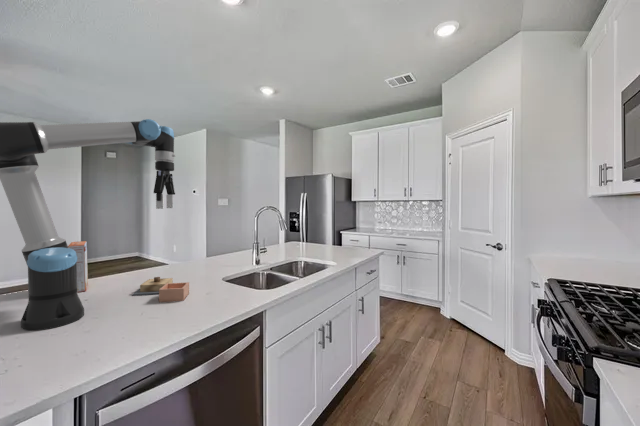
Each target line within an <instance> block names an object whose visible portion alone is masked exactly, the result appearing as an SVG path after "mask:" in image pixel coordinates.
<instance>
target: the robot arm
mask: <svg viewBox="0 0 640 426" xmlns="http://www.w3.org/2000/svg"><path fill="white" fill-rule="evenodd" d="M112 144H113V145H115V144H128V145H132V146H134V145H136V146H141V147H142V146H143V147H149V148H154V154H155V155H154V160H155V162H154V163H155V164H154V165H155V170H156V177H155V181H154V187H153V194H155V208H156V209H157V210H159V209H160V210H161V209H162V210H164V208H165V207H164V204H165V203H164V202H165V201H164V200H165V199H164V193H163V192H164V190H165V191H166V195H165V196H166V209H174V195H176V192H175V188H174V187H175V185H174V178H173V174H172V173H170V172H174V171H175V162H174V161H175V157H176V154H175V132H174V129H173V128H172V127H169V126H165V125H159V123H158V122H157V121H155V120H154V119H150V118H146V119H145V118H144V119H142V120H140V121H118V122H117V121H116V122H114V121H113V122H93V123H92V122H90V123H88V122H87V123H67V124H65V123H64V124H63V123H61V124H38V123H37V122H35V121H29V122H28V121H25V122H24V121H23V122H17V121H15V122H14V121H13V122H12V121H10V122H8V121H6V122H3V121H2V122H0V183H1V186H2V188H3V190H4V193H5V195H6V198H7V200H8V203H9V205H10V209H11V211H12V214H13V216H14V218H15V221H16V224H17V226H18V229H19V232H20V234H21V236H22V238H23V241H24V243H25V244H24V246H23V247H22V249H21V254H22V256H23V257H24V260H25V261H24V262H25V264H26V266H27V284H28V285H27V287H28V288H27V289H28V292H27V293H28V301H27V305H26V307H25V309H24V311H23V315H22V316H21V319H20V328H21V329H22V330H24V331H39V330H48V329H53V328H58V327H61V326H65V325H69V324H70V323H71V324H72V323H74V322H77V321H79V320H80V319H82V318H83V317H84V316H85V307H84V305H83V303H82V300H81V299H80V297H79V294H78V292H77V255H76V251H75V250H73V249H71V248H68V246H69V245H68V243H67V241H66V239H65V238H63V237H59V234H58V231H57V229H56V226H55V224H54V221H53V218H52V216H51V212H50V211H49V207H48V204H47V203H46V201H47V200H46V199H45V196H44V194H43V191H42V188H41V185H40V183H39V180H38V177H37V175H36V171H37V170H38V169H39V163H38V160H37V157H36V154H38V155H39V154H46V153H47V152H48V151H49V150H59V149H67V148H68V149H69V148H81V147H93V146H104V145H112ZM164 188H165V189H164Z"/></svg>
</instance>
